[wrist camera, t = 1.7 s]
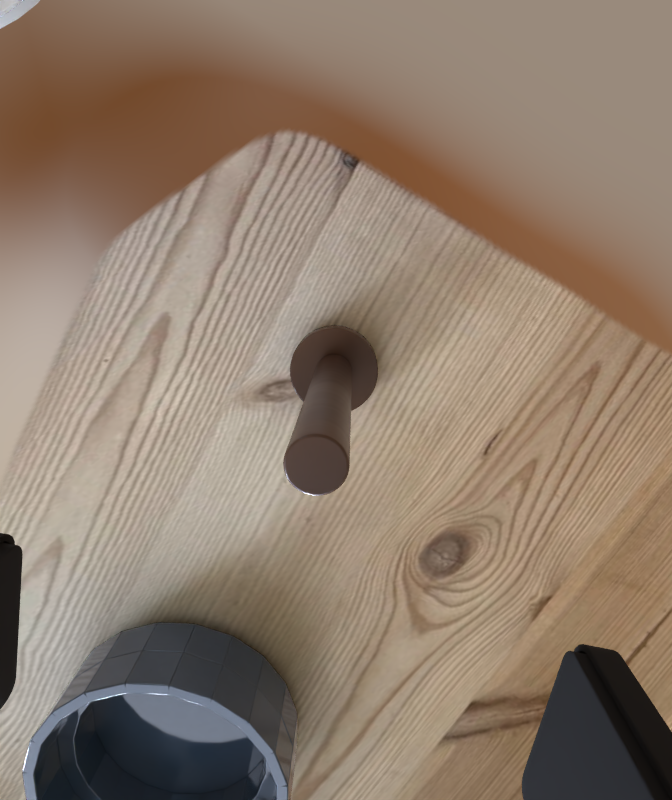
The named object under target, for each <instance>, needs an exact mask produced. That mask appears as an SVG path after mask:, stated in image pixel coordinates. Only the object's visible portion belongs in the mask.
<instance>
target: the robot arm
mask: <svg viewBox="0 0 672 800" xmlns="http://www.w3.org/2000/svg"><path fill="white" fill-rule="evenodd" d="M21 572H22V549H21V547H20V546H17V545H15V542H14V539H13V537H12V536H10V535H8V534H3V533H0V709H1V708H2V706H3V705H4V704H5V702H6V701H7V700H8V698H9V696H10V694H11V692H12V690H13V687H14V684H15V680H16V667H17V648H18V629H19V610H20V591H21ZM522 793H523V799H524V800H672V732H671V730H670V729H669V727H668V726H667V724H666V723H665V721H664V720H663V718H662V717H661V715H660V714H659V712H658V711H657V709H656V708H655V706H654V705H653V703H652V702H651V700H650V699H649V697H648V696H647V694H646V693H645V691H644V690H643V688H642V687H641V685H640V684H639V682H638V681H637V679H636V678H635V676H634V675H633V673H632V672H631V670H630V669H629V667H628V666H627V664H626V663H625V661H624V660H623V658H622V657H621V655H620V654H619V653H618V652H616V651H614V650H610V649H605V648H599V647H594V646H589V645H584V644H581V645H578V646H577V647H576V648H575V650H574V652H573V651H568V652H567V653H566V654H565V655H564V657H563V660H562V663H561V666H560V669H559V671H558V674H557V677H556V680H555V683H554V686H553V689H552V692H551V695H550V698H549V700H548V703H547V706H546V709H545V712H544V715H543V718H542V721H541V724H540V727H539V729H538V732H537V735H536V738H535V741H534V744H533V747H532V750H531V753H530V756H529V758H528V761H527V764H526V767H525V770H524V773H523V778H522Z"/></svg>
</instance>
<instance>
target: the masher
mask: <svg viewBox="0 0 672 800" xmlns="http://www.w3.org/2000/svg"><path fill="white" fill-rule="evenodd" d="M290 376H291V381H292V384H293V387H294V389H295V391H296V393H297V394H298V396H299V397H300V398H301V400H302V401H303V405H302V408H301V411H300V414H299V416H298V419H297V422H296V425H295V428H294V430H293V433H292V436H291V439H290V442H289V444H288V447H287V450H286V453H285V456H284V462H283V465H284V471H285V475H286V477H287V479H288V480H289V482H290V483H291V484H292V485H293V486H294V487H295V488H296V489H298V490H299V491H301V492H303V493H306V494H309V495H325V494H328V493H331V492H333V491H335V490H336V489H338V488H339V487H340V486H341V485H342V484H343V483H344V481H345V479H346V478H347V475H348V472H349V462H350V429H351V411H352V410H354V409H356V408H357V407H359V406H360V405H362V404H363V403H364V402H365V401H366V400H367V399H368V398H369V396H370V395H371V393H372V392H373V390H374V388H375V385H376V382H377V376H378V367H377V360H376V356H375V353H374V351H373V349H372V347H371V345H370V344H369V342H368V341H367V340H366V339H365V338H364V337H363V336H362V335H361V334H359V333H358V332H356V331H354V330H353V329H350V328H347V327H344V326H325V327H322V328H319V329H316V330H314V331H313V332H311V333H310V334H308V335H307V336H306V337H305V338H304V339H303V340H302V341H301V342H300V344H299V345H298V347H297V348H296V350H295V352H294V354H293V357H292V360H291V366H290Z"/></svg>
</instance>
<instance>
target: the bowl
mask: <svg viewBox="0 0 672 800" xmlns="http://www.w3.org/2000/svg"><path fill="white" fill-rule="evenodd" d="M297 720H298V715H297V711H296V708H295V706H294V703H293V701H292V698H291V695H290V693H289V690H288V687H287V685H286V684H285V682H284V680H283V679H282V678H281V677H280V676H279V674H278V673H277V672H276V671H275V669H274V668H273V667H272V666H271V665H270V663H269V662H268V661H267V660H266V659H265V657H264V656H263V655H261V654H260V653H258V652H257V651H255V650H254V649H252V648H251V647H249V646H248V645H246V644H245V643H243V642H242V641H240V640H239V639H237V638H236V637H234V636H232V635H229V634H225V633H222V632H219V631H216V630H213V629H210V628H207V627H204V626H201V625H198V624H184V623H161V622H159V623H153V624H149V625H145V626H141V627H137V628H133V629H129V630H125V631H121V632H120V633H118V634H117V635H115V636H113V637H112V638H110V639H109V640H107V641H105V642H104V643H102V644H101V645H99V646H97V647H96V648H94V650H92V652H91V653H90V654H89V656H88V657H87V658H86V659H85V661H84V662H83V663H82V665H81V666H80V667H79V669H78V670H77V671H76V673H75V674H74V675H73V677H72V678H71V680H70V681H69V683H68V684H67V686H66V687H65V689H64V690H63V692H62V693H61V695H60V696H59V698H58V699H57V701H56V702H55V704H54V705H53V707H52V708H51V710H50V711H49V712H48V714H47V715H46V717H45V718H44V720H43V721H42V723H41V724H40V726H39V727H38V729H37V730H36V732H35V733H34V735H33V736H32V738H31V740H30V743H29V747H28V751H27V755H26V759H25V763H24V767H23V772H22V774H23V781H24V787H25V794H26V800H291V791H292V783H293V775H294V766H295V758H296V750H297Z"/></svg>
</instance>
